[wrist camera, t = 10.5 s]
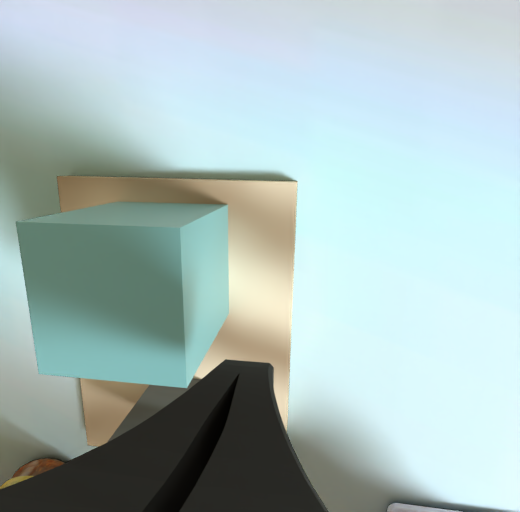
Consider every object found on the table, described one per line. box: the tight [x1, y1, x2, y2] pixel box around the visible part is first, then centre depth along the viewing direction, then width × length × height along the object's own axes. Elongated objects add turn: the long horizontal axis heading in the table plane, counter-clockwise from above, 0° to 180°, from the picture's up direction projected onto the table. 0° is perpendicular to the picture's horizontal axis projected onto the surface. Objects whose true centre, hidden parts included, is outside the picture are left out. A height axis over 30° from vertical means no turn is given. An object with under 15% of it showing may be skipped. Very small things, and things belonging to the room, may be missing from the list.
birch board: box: [57, 176, 298, 447], centre depth 18 cm, size 16×12×6 cm
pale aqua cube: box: [16, 202, 229, 388], centre depth 16 cm, size 6×6×7 cm
